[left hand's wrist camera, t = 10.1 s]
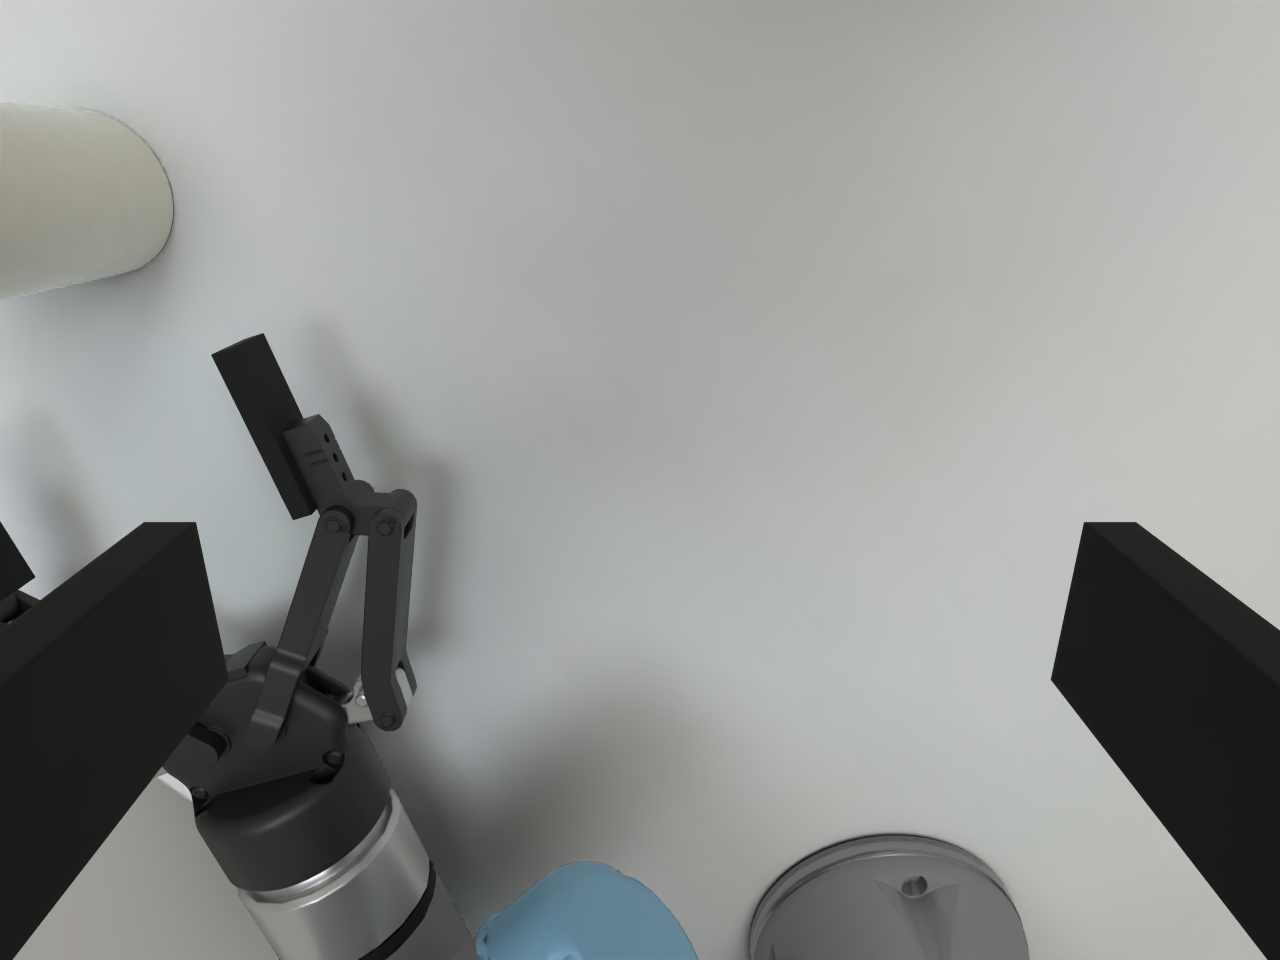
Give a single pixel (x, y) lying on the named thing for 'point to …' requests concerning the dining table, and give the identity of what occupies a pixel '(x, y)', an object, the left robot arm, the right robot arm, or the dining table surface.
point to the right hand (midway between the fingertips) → (69, 395)
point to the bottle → (75, 199)
